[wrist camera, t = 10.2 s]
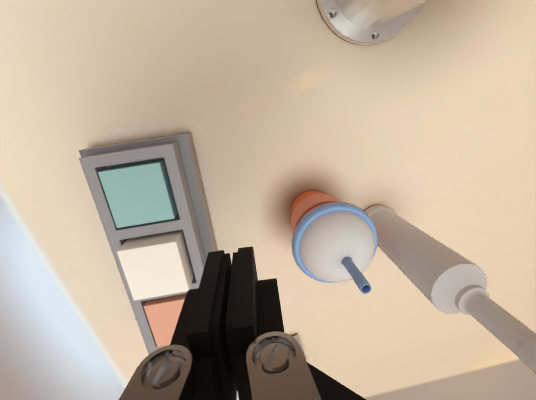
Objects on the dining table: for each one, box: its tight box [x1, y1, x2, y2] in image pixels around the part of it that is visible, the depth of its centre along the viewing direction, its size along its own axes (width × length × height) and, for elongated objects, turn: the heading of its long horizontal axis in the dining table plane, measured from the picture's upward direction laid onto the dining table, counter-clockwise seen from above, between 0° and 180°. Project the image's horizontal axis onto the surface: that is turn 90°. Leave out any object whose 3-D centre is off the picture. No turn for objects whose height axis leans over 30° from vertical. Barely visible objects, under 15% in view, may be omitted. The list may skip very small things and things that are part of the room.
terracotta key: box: [144, 293, 187, 347], centre depth 37 cm, size 6×6×3 cm
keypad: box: [79, 132, 217, 354], centre depth 36 cm, size 28×12×6 cm, turn 8°
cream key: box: [117, 231, 194, 301], centre depth 33 cm, size 6×6×3 cm
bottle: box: [364, 205, 536, 374], centre depth 29 cm, size 5×5×25 cm
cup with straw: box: [291, 191, 377, 294], centre depth 31 cm, size 9×9×18 cm
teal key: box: [98, 159, 178, 228], centre depth 32 cm, size 6×6×3 cm
